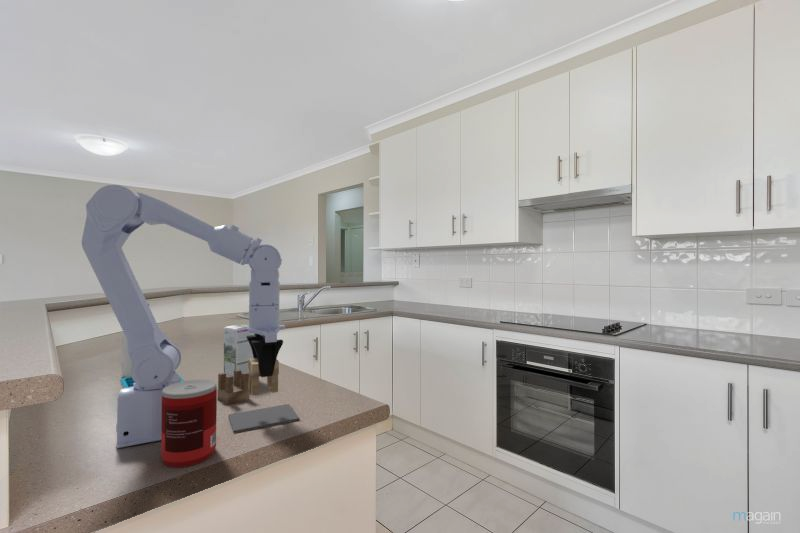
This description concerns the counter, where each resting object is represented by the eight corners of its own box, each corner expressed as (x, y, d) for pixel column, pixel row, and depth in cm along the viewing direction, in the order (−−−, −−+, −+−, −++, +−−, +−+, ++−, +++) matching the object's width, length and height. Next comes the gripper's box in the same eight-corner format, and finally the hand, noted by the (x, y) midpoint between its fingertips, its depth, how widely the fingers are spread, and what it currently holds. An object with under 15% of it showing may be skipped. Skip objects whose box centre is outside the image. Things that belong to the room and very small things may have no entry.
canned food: (203, 439, 65) (203, 376, 66) (225, 454, 60) (225, 385, 60) (153, 456, 59) (153, 387, 60) (172, 474, 54) (173, 397, 55)
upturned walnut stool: (227, 405, 83) (227, 377, 83) (217, 400, 86) (217, 373, 86) (249, 399, 86) (249, 373, 86) (238, 394, 90) (239, 369, 90)
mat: (233, 432, 68) (233, 430, 68) (228, 416, 76) (228, 414, 76) (299, 420, 74) (299, 418, 74) (288, 405, 82) (288, 403, 82)
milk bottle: (142, 378, 102) (143, 304, 102) (114, 378, 102) (115, 304, 102) (161, 370, 110) (161, 302, 110) (135, 370, 110) (135, 302, 110)
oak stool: (278, 391, 74) (278, 361, 74) (251, 395, 72) (251, 364, 72) (273, 385, 78) (273, 356, 78) (247, 388, 76) (248, 359, 76)
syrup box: (255, 378, 102) (255, 325, 103) (235, 384, 97) (235, 328, 98) (242, 375, 105) (242, 323, 106) (222, 380, 100) (222, 326, 101)
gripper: (293, 306, 71) (293, 379, 71) (277, 301, 84) (276, 362, 83) (253, 308, 67) (253, 384, 67) (243, 302, 80) (242, 366, 80)
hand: (264, 372), depth 75 cm, fingers closed on oak stool, 5 cm apart
